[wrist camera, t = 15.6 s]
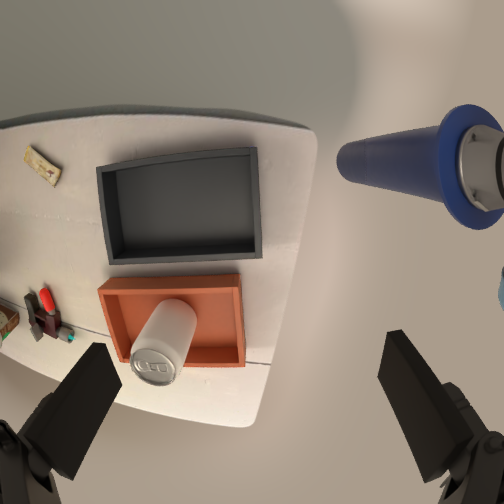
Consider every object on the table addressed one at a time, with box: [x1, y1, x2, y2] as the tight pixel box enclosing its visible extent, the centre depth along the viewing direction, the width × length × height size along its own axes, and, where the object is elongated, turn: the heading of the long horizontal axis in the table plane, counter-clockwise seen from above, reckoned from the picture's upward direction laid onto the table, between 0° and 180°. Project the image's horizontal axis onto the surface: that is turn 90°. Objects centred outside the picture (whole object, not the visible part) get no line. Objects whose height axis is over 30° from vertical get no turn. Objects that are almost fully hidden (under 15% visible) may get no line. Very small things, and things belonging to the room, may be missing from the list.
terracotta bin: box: [97, 274, 246, 367], centre depth 38 cm, size 20×13×4 cm, turn 93°
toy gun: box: [24, 288, 75, 343], centre depth 38 cm, size 10×12×5 cm
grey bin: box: [96, 147, 262, 265], centre depth 33 cm, size 20×13×4 cm, turn 93°
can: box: [129, 299, 197, 386], centre depth 34 cm, size 6×6×12 cm
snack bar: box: [24, 146, 61, 187], centre depth 32 cm, size 10×2×3 cm
